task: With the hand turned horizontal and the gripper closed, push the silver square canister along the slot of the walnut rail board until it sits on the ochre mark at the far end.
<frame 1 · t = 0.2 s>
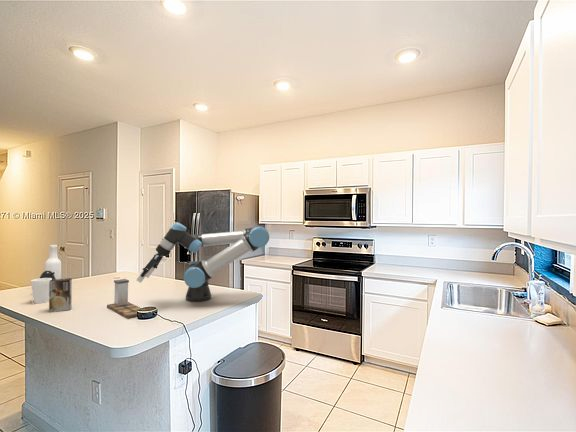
hand: (142, 279, 169), 15 cm above the countertop, tool tilted 35°, fingers open, 13 cm apart
rail board: (127, 310, 161), on the countertop
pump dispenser: (47, 294, 192), on the countertop
foam cup: (41, 302, 175), on the countertop
silver square canister: (121, 292, 166), point 8 cm above the countertop, slide at 0.0 cm
coffee box: (60, 310, 161), on the countertop
alcohol: (52, 289, 206), on the countertop
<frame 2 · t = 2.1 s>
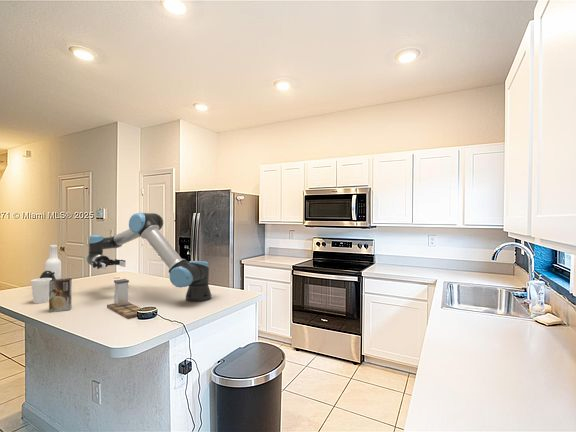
hand: (115, 265, 173), 22 cm above the countertop, tool horizontal, fingers open, 10 cm apart
nothing on the countertop moved.
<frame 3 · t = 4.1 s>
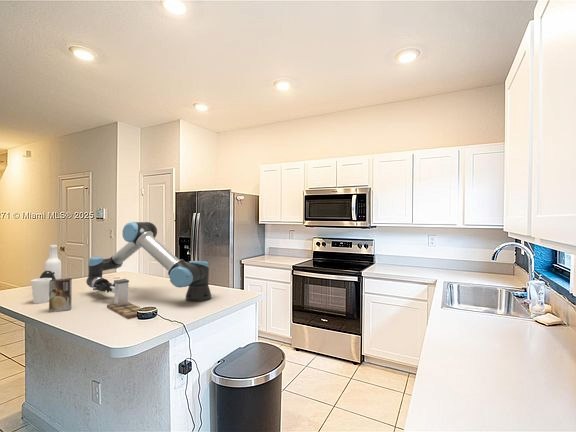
hand: (115, 290, 172), 8 cm above the countertop, tool horizontal, fingers closed
nothing on the countertop moved.
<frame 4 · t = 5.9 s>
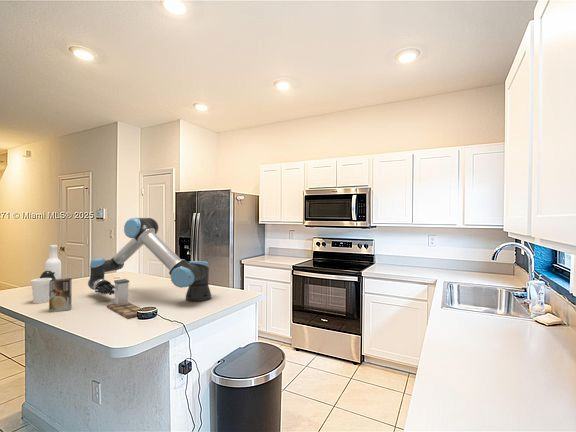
hand: (117, 292, 167), 8 cm above the countertop, tool horizontal, fingers closed
silver square canister: (121, 292, 166), point 8 cm above the countertop, slide at 0.3 cm, touching gripper
everything else where it was.
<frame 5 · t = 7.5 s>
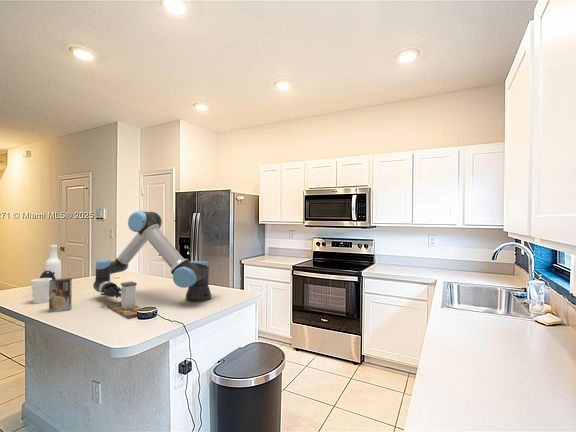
hand: (124, 295, 161), 8 cm above the countertop, tool horizontal, fingers closed
silver square canister: (128, 295, 160), point 8 cm above the countertop, slide at 9.7 cm, touching gripper
everything else where it was.
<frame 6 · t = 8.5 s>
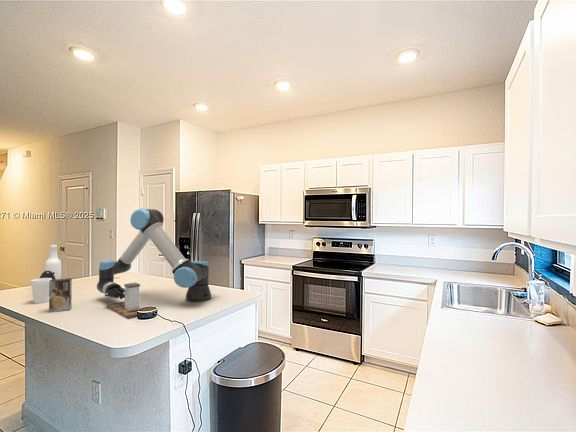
hand: (129, 296, 159), 8 cm above the countertop, tool horizontal, fingers closed
silver square canister: (132, 296, 157), point 8 cm above the countertop, slide at 13.9 cm, touching gripper
everything else where it was.
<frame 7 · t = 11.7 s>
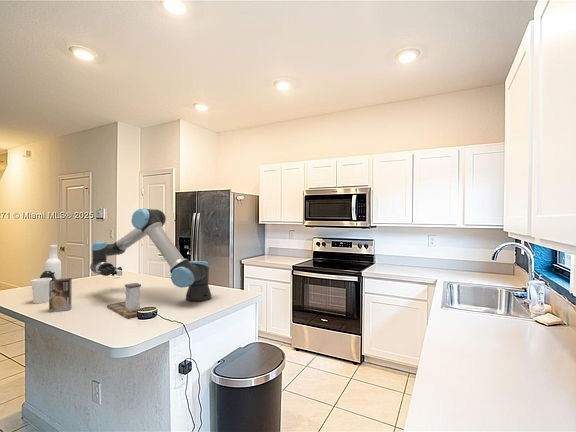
hand: (120, 273, 167), 19 cm above the countertop, tool horizontal, fingers closed
silver square canister: (132, 297, 157), point 8 cm above the countertop, slide at 14.8 cm
everything else where it was.
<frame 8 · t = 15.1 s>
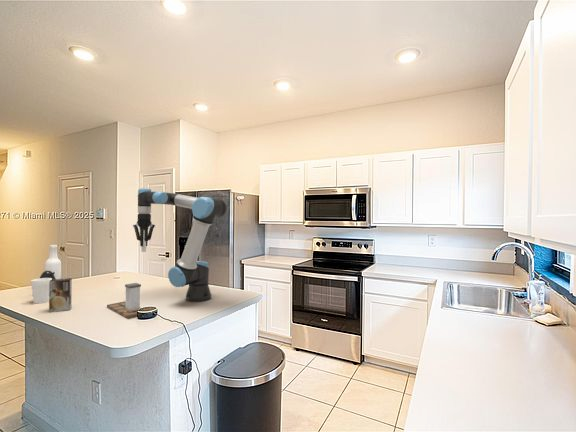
hand: (143, 251, 188), 28 cm above the countertop, tool pointing down, fingers closed
nothing on the countertop moved.
at the end: silver square canister slide at 14.8 cm; silver square canister moved 14.8 cm from its start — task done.
